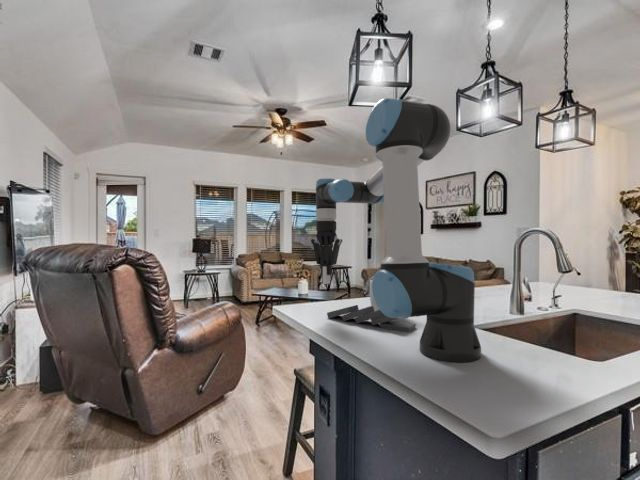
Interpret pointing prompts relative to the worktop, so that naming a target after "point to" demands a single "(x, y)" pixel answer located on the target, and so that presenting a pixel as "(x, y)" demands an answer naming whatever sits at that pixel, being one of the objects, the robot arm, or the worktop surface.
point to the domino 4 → (381, 319)
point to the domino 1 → (342, 311)
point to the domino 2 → (358, 313)
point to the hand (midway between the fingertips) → (326, 283)
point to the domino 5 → (398, 326)
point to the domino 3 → (369, 316)
